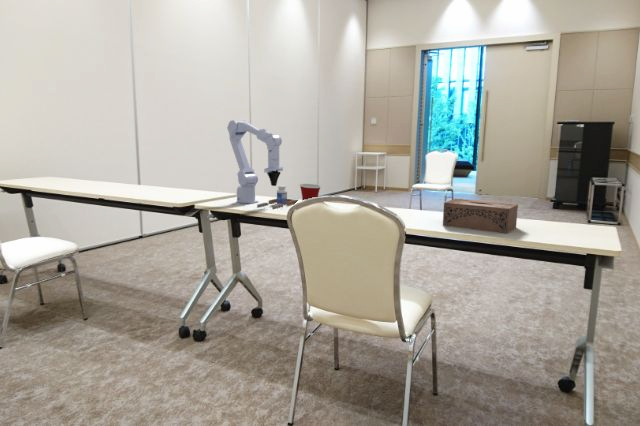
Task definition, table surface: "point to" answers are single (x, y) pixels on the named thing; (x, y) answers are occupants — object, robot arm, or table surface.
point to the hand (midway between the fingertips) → (273, 185)
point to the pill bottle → (282, 195)
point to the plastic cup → (309, 190)
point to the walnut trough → (289, 201)
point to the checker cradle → (267, 204)
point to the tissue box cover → (480, 215)
